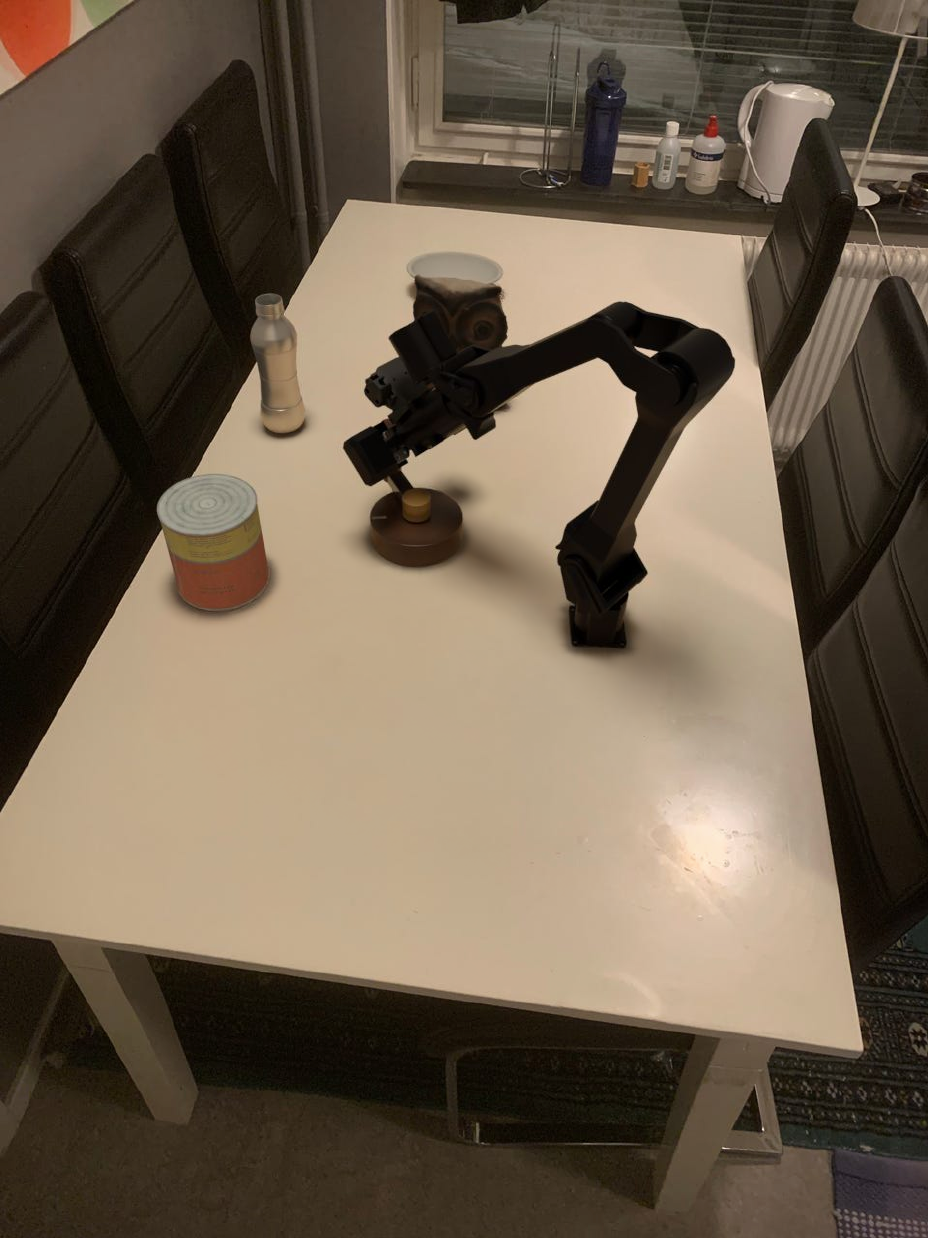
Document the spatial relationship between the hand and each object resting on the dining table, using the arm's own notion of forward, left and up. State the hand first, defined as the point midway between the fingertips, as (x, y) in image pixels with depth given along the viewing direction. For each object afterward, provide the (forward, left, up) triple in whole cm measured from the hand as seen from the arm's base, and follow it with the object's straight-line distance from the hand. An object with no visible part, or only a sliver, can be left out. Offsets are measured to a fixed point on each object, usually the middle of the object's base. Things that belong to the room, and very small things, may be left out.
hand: (382, 451), depth 121 cm
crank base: (-8, -5, -8) cm, 12 cm away
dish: (+61, -8, -8) cm, 62 cm away
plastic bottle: (+16, +16, -8) cm, 24 cm away
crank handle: (-5, -3, -4) cm, 7 cm away
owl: (+27, -11, -8) cm, 30 cm away
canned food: (-18, +18, -8) cm, 27 cm away
